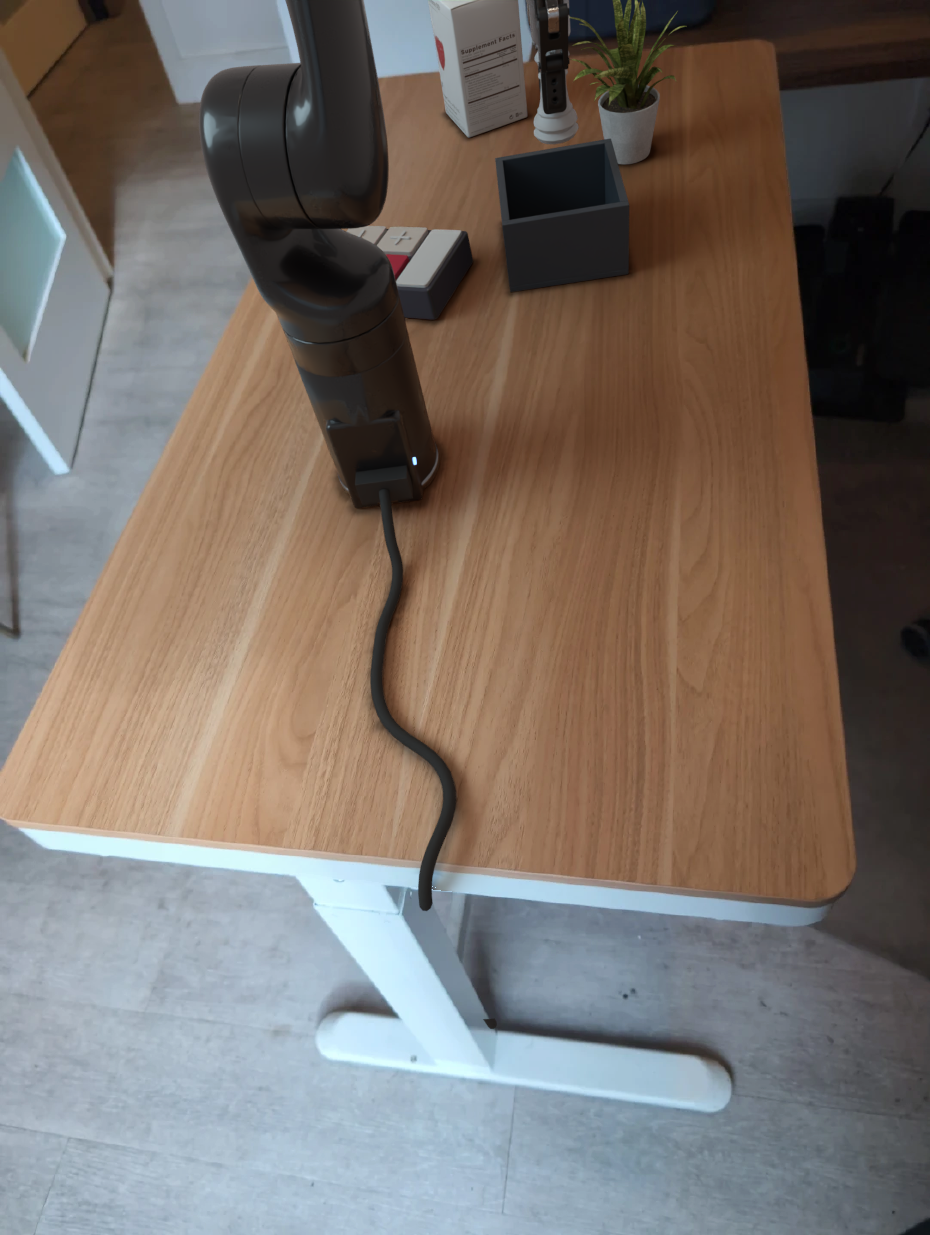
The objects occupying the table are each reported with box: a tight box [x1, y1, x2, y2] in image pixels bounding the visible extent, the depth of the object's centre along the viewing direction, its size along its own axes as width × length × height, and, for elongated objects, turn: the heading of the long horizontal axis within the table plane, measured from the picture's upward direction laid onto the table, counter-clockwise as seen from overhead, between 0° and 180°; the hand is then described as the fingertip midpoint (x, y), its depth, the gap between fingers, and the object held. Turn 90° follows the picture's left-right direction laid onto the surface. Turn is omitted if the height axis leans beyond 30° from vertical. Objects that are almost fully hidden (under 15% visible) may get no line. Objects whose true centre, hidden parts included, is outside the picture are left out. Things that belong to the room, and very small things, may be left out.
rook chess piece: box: [533, 49, 580, 145], centre depth 79 cm, size 4×4×8 cm
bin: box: [494, 138, 630, 293], centre depth 89 cm, size 14×13×8 cm
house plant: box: [569, 0, 686, 165], centre depth 96 cm, size 14×14×16 cm
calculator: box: [345, 225, 474, 321], centre depth 92 cm, size 11×4×15 cm
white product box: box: [427, 0, 528, 138], centre depth 107 cm, size 9×9×15 cm
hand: (553, 101), depth 80 cm, fingers closed on rook chess piece, 3 cm apart
